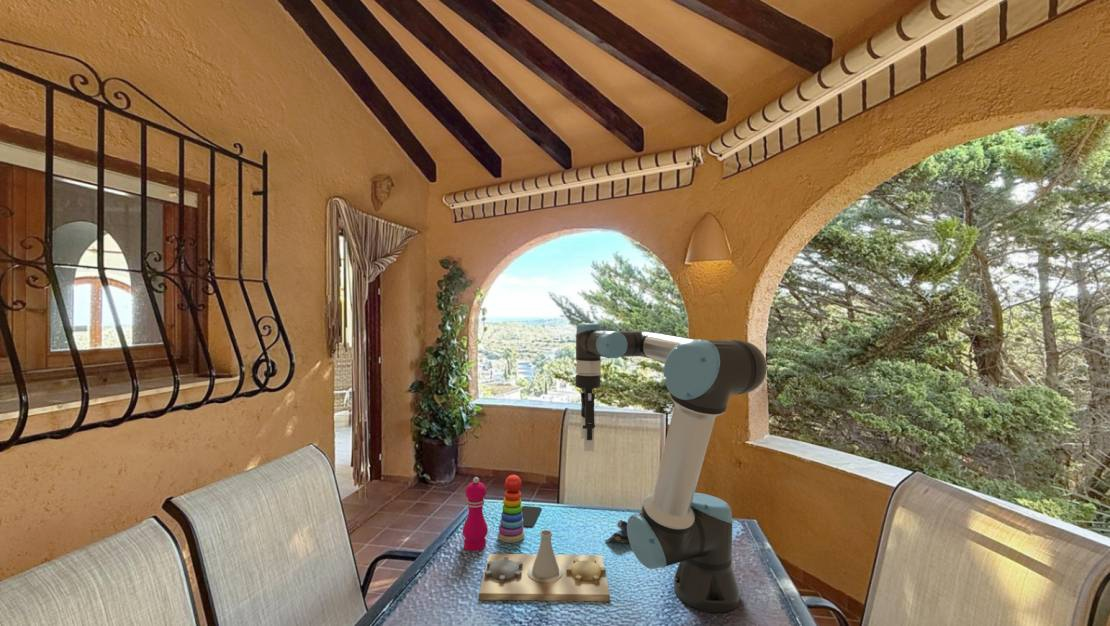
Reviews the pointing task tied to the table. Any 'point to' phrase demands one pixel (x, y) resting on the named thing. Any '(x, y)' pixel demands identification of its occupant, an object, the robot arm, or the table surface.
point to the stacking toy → (511, 512)
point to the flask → (545, 558)
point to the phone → (530, 515)
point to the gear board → (544, 579)
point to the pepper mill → (475, 517)
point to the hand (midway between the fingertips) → (587, 444)
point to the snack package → (620, 533)
